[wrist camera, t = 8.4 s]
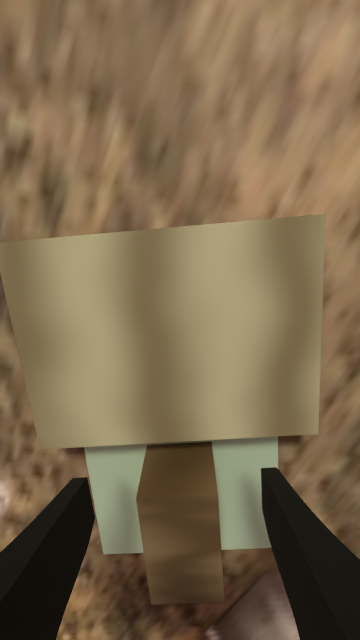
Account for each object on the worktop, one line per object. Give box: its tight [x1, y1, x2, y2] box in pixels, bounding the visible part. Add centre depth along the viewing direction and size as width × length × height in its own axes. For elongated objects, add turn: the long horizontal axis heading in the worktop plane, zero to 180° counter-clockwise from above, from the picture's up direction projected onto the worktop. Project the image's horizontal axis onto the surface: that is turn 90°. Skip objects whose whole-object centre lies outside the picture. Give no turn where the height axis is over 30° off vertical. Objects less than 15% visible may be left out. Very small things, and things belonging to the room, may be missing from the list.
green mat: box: [84, 436, 278, 554], centre depth 19 cm, size 12×10×1 cm
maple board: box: [0, 214, 326, 449], centre depth 16 cm, size 15×11×2 cm
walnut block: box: [136, 442, 225, 605], centre depth 17 cm, size 4×4×7 cm
